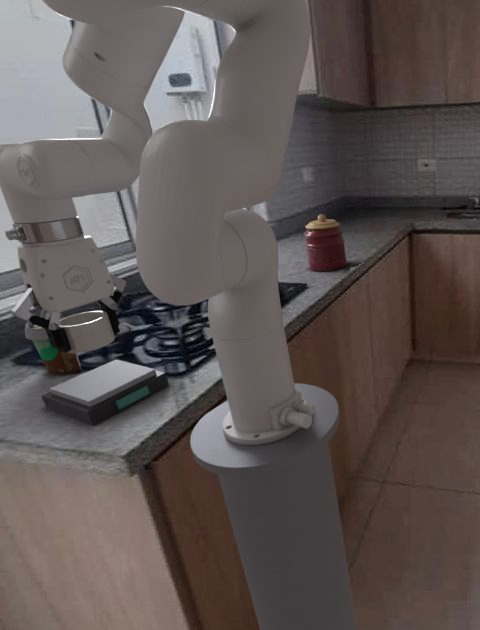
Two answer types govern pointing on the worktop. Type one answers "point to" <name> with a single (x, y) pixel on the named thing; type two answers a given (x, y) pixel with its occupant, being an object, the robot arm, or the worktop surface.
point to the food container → (52, 352)
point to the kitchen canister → (325, 245)
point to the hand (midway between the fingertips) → (89, 339)
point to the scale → (104, 391)
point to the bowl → (87, 331)
